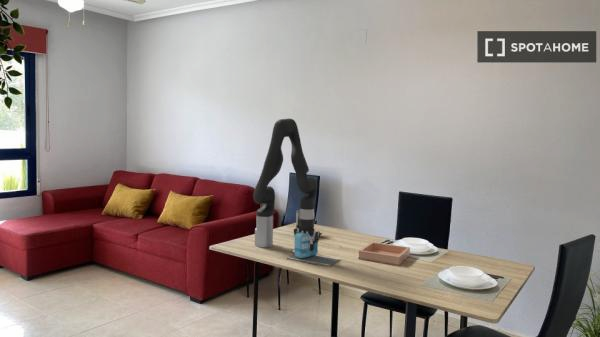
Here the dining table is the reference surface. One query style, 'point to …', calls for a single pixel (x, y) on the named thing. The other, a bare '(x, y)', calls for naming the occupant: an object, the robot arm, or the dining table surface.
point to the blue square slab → (304, 246)
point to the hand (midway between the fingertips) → (306, 249)
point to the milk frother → (298, 220)
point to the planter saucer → (384, 253)
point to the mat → (315, 260)
